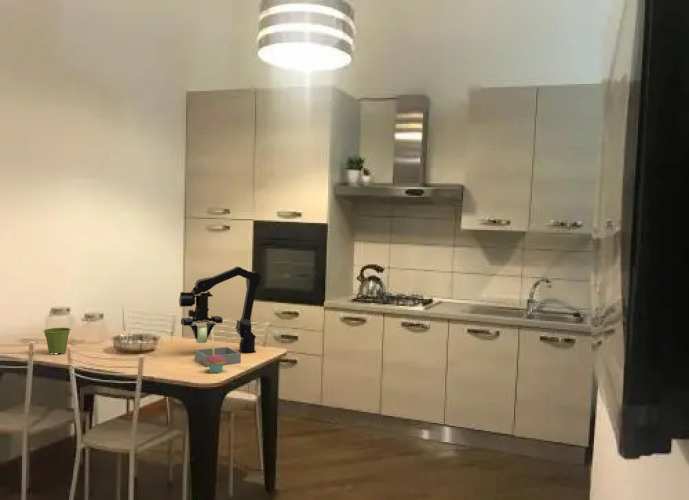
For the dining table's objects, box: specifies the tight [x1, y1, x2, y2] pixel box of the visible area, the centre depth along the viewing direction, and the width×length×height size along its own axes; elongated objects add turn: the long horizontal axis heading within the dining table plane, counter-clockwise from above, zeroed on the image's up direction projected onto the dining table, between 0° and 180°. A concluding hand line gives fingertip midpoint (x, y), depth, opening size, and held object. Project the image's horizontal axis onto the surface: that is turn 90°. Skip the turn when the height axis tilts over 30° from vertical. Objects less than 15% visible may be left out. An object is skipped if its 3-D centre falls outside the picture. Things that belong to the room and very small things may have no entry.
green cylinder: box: [195, 325, 208, 344], centre depth 296 cm, size 5×5×7 cm
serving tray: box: [194, 346, 242, 368], centre depth 284 cm, size 16×16×4 cm
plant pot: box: [42, 327, 71, 354], centre depth 294 cm, size 12×12×11 cm
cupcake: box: [206, 343, 226, 374], centre depth 266 cm, size 9×8×12 cm
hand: (201, 338), depth 296 cm, fingers closed on green cylinder, 5 cm apart
